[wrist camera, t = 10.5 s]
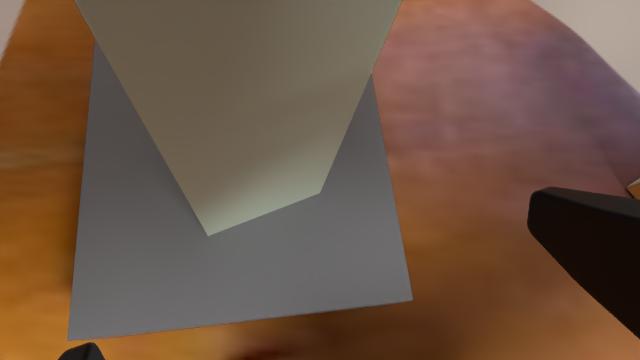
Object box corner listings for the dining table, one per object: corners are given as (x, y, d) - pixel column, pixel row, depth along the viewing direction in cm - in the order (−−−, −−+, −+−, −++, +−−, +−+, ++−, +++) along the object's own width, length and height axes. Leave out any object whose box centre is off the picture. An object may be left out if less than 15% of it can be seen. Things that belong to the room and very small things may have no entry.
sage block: (319, 193, 17) (451, -115, 5) (208, 235, 16) (48, -43, 4) (276, 99, 19) (304, -316, 7) (170, 131, 17) (-34, -311, 5)
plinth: (391, 304, 19) (413, 300, 16) (99, 338, 17) (67, 340, 14) (352, 74, 23) (365, 40, 21) (116, 78, 21) (94, 40, 19)
